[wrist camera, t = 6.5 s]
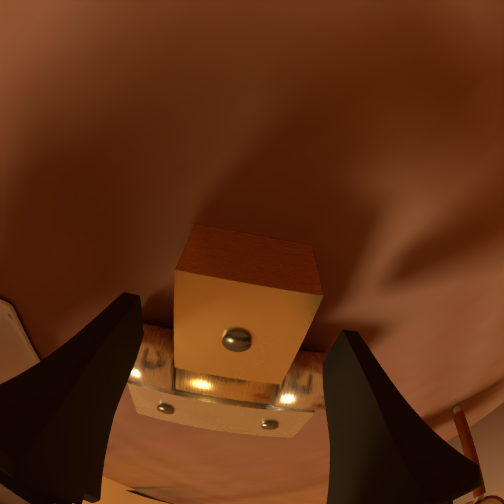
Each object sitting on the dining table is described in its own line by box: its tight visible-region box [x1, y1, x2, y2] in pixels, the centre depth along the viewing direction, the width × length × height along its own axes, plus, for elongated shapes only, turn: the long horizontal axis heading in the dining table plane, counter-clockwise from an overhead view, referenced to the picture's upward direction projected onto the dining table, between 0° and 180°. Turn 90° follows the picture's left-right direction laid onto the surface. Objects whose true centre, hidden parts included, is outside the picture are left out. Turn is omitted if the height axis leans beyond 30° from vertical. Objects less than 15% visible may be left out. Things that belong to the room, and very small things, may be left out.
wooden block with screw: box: [174, 224, 323, 404], centre depth 11 cm, size 8×4×3 cm, turn 170°
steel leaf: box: [128, 323, 328, 437], centre depth 14 cm, size 7×10×3 cm
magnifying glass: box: [453, 405, 504, 504], centre depth 11 cm, size 9×2×20 cm, turn 76°
